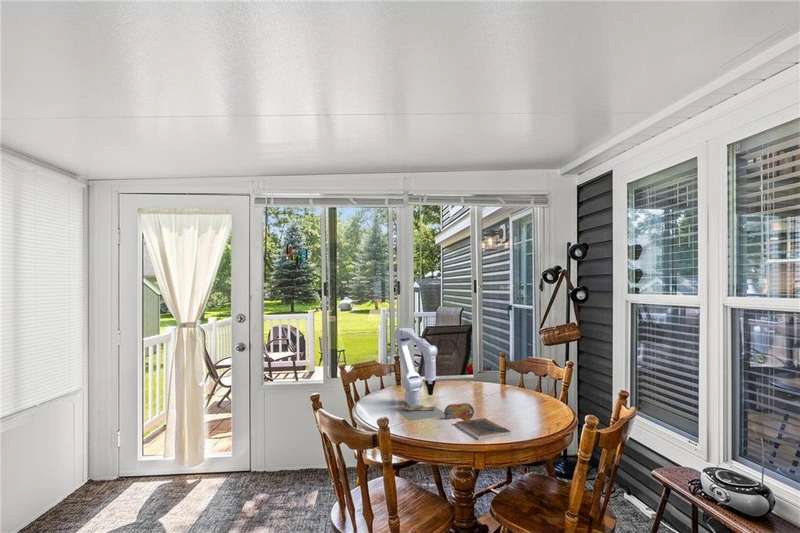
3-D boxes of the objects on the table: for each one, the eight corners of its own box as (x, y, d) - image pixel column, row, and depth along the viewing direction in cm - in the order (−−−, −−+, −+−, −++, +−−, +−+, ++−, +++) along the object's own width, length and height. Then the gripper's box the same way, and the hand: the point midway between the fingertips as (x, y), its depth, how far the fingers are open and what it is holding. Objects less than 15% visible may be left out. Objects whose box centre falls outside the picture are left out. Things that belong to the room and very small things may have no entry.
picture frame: (510, 436, 199) (485, 422, 219) (510, 431, 199) (485, 417, 219) (478, 441, 193) (455, 426, 213) (478, 435, 193) (455, 421, 213)
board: (394, 411, 237) (394, 408, 237) (432, 407, 244) (432, 404, 244) (409, 423, 216) (409, 420, 216) (449, 418, 223) (449, 415, 223)
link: (401, 410, 233) (401, 404, 233) (402, 408, 237) (402, 402, 237) (434, 410, 231) (434, 404, 232) (434, 408, 235) (434, 402, 236)
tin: (445, 422, 217) (445, 405, 217) (443, 421, 220) (443, 403, 220) (474, 420, 221) (474, 403, 221) (471, 418, 224) (471, 401, 224)
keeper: (414, 407, 239) (414, 400, 239) (418, 407, 239) (418, 400, 239) (413, 412, 230) (413, 404, 230) (418, 412, 230) (418, 404, 230)
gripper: (437, 371, 227) (438, 398, 227) (437, 366, 242) (437, 391, 241) (424, 371, 228) (424, 398, 227) (424, 366, 242) (424, 391, 242)
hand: (430, 394), depth 234 cm, fingers closed
